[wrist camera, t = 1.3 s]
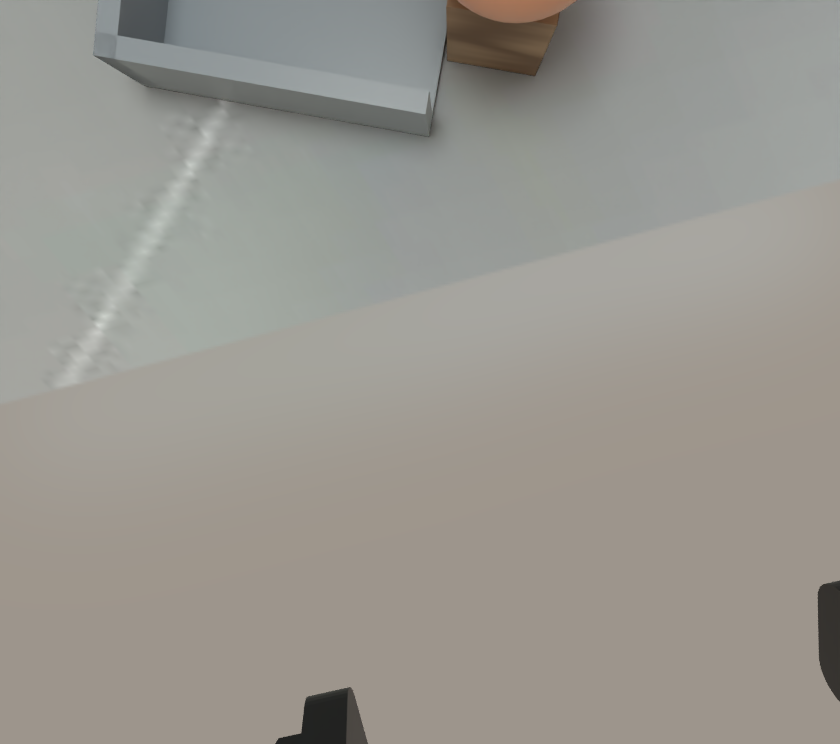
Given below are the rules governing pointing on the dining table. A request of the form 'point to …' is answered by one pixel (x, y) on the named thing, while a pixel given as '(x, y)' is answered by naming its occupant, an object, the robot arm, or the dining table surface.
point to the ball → (516, 9)
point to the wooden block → (496, 40)
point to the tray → (286, 54)
